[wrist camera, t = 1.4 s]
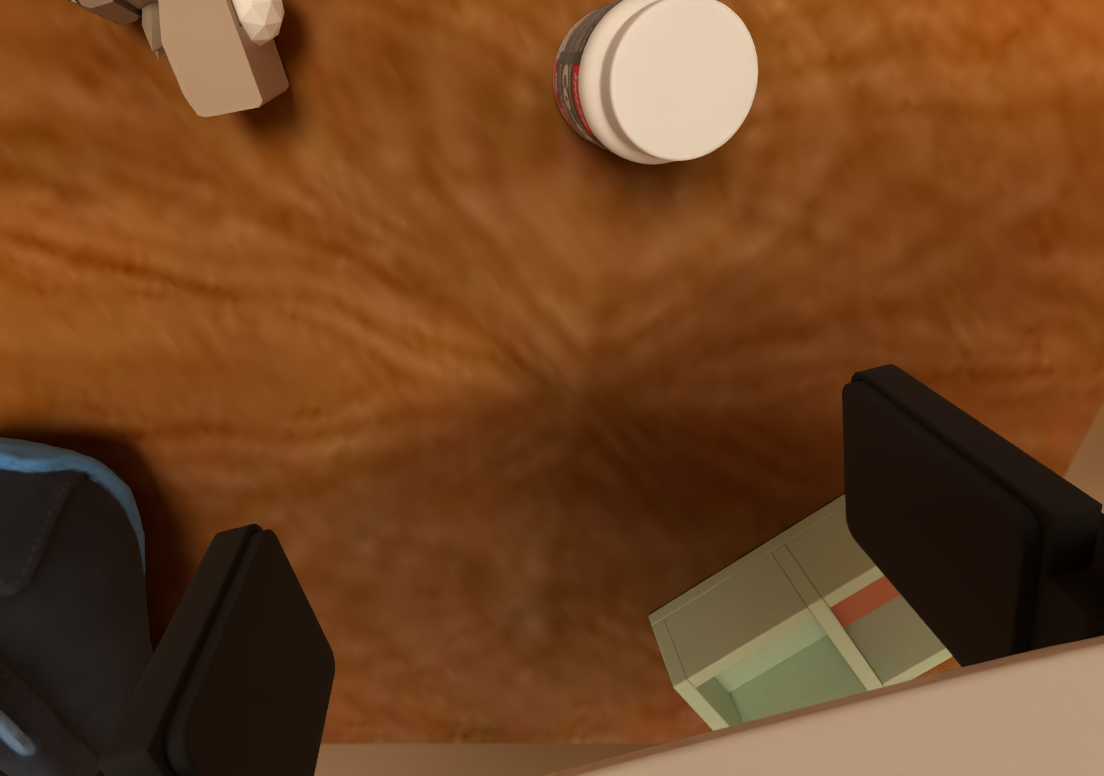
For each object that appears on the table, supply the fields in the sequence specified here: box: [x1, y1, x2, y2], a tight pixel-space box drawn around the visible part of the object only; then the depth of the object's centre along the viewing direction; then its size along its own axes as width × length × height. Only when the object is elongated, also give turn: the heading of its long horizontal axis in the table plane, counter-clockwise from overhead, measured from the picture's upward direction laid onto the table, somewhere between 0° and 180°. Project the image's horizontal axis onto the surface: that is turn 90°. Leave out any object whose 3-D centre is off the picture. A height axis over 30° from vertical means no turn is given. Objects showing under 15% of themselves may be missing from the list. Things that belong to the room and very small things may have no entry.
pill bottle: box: [553, 0, 758, 164], centre depth 22 cm, size 5×5×8 cm
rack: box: [648, 494, 952, 731], centre depth 35 cm, size 15×8×5 cm, turn 125°
